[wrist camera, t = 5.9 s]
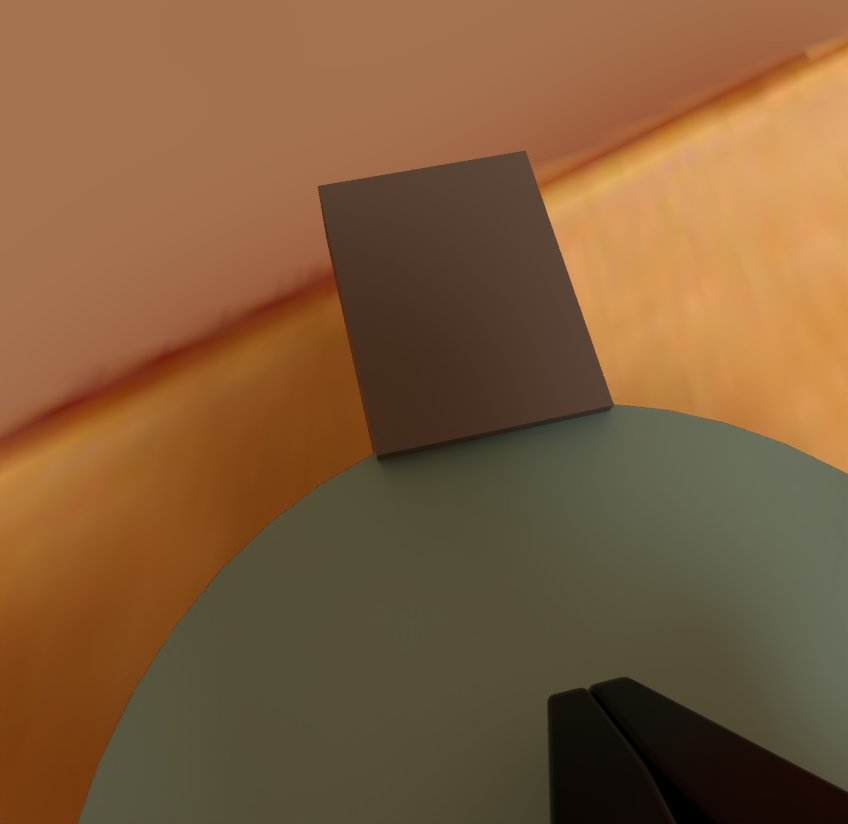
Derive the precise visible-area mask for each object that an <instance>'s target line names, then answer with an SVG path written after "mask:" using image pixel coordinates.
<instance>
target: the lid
mask: <svg viewBox="0 0 848 824" xmlns="http://www.w3.org/2000/svg"><path fill="white" fill-rule="evenodd" d="M318 190H319V196H320V202H321V208H322V215H323V221H324V226H325V232H326V238H327V243H328V247H329V252H330V257H331V261H332V266H333V270H334V275H335V279H336V284H337V289H338V293H339V298H340V302H341V307H342V312H343V316H344V321H345V325H346V330H347V334H348V339H349V344H350V348H351V353H352V357H353V362H354V367H355V371H356V376H357V380H358V385H359V389H360V394H361V399H362V403H363V408H364V412H365V417H366V422H367V426H368V431H369V435H370V440H371V445H372V449H373V454H372V455H371V456H369V457H367V458H366V459H364V460H362V461H360V462H359V463H357V464H355V465H353V466H352V467H350V468H348V469H346V470H345V471H343V472H341V473H339V474H338V475H336V476H334V477H332V478H331V479H329V480H327V481H326V482H324V483H322V484H321V485H319V486H318V487H317V488H315V489H314V490H313V491H311V492H310V493H309V494H307V495H306V496H305V497H303V498H302V499H301V500H299V501H298V502H297V503H295V504H294V505H293V506H291V507H290V508H289V509H287V510H286V511H285V512H283V513H282V514H281V515H279V516H278V517H277V518H275V519H274V520H273V521H272V522H270V523H269V524H268V525H267V526H266V527H265V528H264V529H263V530H262V531H261V532H260V533H259V534H258V535H257V536H256V537H255V538H253V539H252V540H251V541H250V542H249V543H248V544H247V545H246V546H245V547H244V548H243V549H242V550H241V551H240V552H239V553H238V554H237V555H236V556H235V557H234V558H233V559H232V560H231V561H230V562H229V563H228V564H227V565H226V566H224V567H223V568H222V569H221V570H220V572H219V573H218V574H217V575H216V577H215V578H214V579H213V580H212V581H211V583H210V584H209V585H208V586H207V588H206V589H205V590H204V591H203V592H202V594H201V595H200V596H199V597H198V599H197V600H196V601H195V602H194V604H193V605H192V606H191V607H190V608H189V610H188V611H187V612H186V613H185V615H184V616H183V617H182V618H181V619H180V621H179V622H178V623H177V624H176V626H175V627H174V629H173V630H172V632H171V633H170V635H169V637H168V638H167V640H166V641H165V643H164V644H163V646H162V648H161V649H160V651H159V652H158V654H157V655H156V657H155V659H154V660H153V662H152V663H151V665H150V666H149V668H148V670H147V671H146V673H145V674H144V676H143V677H142V679H141V680H140V682H139V684H138V685H137V687H136V688H135V690H134V692H133V694H132V696H131V698H130V700H129V702H128V704H127V706H126V708H125V710H124V713H123V715H122V717H121V719H120V721H119V723H118V725H117V727H116V729H115V731H114V733H113V735H112V737H111V739H110V741H109V743H108V745H107V747H106V749H105V751H104V754H103V756H102V758H101V760H100V762H99V764H98V767H97V770H96V773H95V776H94V778H93V781H92V784H91V787H90V790H89V792H88V795H87V798H86V801H85V804H84V806H83V809H82V812H81V815H80V818H79V820H78V823H77V824H550V806H549V763H548V719H547V700H548V698H549V697H550V695H552V694H556V693H560V692H564V691H568V690H572V689H576V688H585V689H587V690H588V689H589V687H590V686H591V685H593V684H595V683H599V682H603V681H607V680H611V679H615V678H619V677H628V678H631V679H633V680H635V681H637V682H639V683H641V684H643V685H645V686H647V687H649V688H651V689H653V690H654V691H656V692H658V693H660V694H662V695H664V696H666V697H668V698H670V699H672V700H674V701H676V702H677V703H679V704H681V705H683V706H685V707H687V708H689V709H691V710H693V711H695V712H697V713H699V714H701V715H702V716H704V717H706V718H708V719H710V720H712V721H714V722H716V723H718V724H720V725H722V726H724V727H725V728H727V729H729V730H731V731H733V732H735V733H737V734H739V735H741V736H743V737H745V738H747V739H748V740H750V741H752V742H754V743H756V744H758V745H760V746H762V747H764V748H766V749H768V750H770V751H772V752H773V753H775V754H777V755H779V756H781V757H783V758H785V759H787V760H789V761H791V762H793V763H795V764H796V765H798V766H800V767H802V768H804V769H806V770H808V771H810V772H812V773H814V774H816V775H818V776H819V777H821V778H823V779H825V780H827V781H829V782H831V783H833V784H835V785H837V786H839V787H841V788H843V789H844V790H846V791H848V474H846V473H845V472H843V471H841V470H839V469H837V468H835V467H833V466H831V465H829V464H826V463H824V462H822V461H820V460H818V459H816V458H814V457H812V456H810V455H808V454H806V453H804V452H801V451H799V450H797V449H795V448H793V447H791V446H789V445H787V444H785V443H782V442H779V441H776V440H773V439H770V438H767V437H765V436H762V435H759V434H756V433H753V432H750V431H747V430H744V429H742V428H739V427H736V426H733V425H730V424H727V423H724V422H719V421H715V420H710V419H706V418H701V417H697V416H692V415H688V414H683V413H679V412H674V411H670V410H664V409H655V408H645V407H635V406H625V405H616V404H613V402H612V399H611V396H610V393H609V390H608V387H607V384H606V381H605V378H604V376H603V373H602V370H601V367H600V364H599V361H598V358H597V355H596V353H595V350H594V347H593V344H592V341H591V338H590V335H589V332H588V330H587V327H586V324H585V321H584V318H583V315H582V312H581V309H580V306H579V304H578V301H577V298H576V295H575V292H574V289H573V286H572V283H571V281H570V278H569V275H568V272H567V269H566V266H565V263H564V260H563V258H562V255H561V252H560V249H559V246H558V243H557V240H556V237H555V234H554V232H553V229H552V226H551V223H550V220H549V217H548V214H547V211H546V209H545V206H544V203H543V200H542V197H541V194H540V191H539V188H538V185H537V183H536V180H535V177H534V174H533V171H532V168H531V165H530V162H529V160H528V157H527V154H526V151H521V152H515V153H509V154H504V155H498V156H492V157H486V158H480V159H474V160H468V161H463V162H457V163H451V164H445V165H439V166H433V167H428V168H421V169H416V170H410V171H404V172H398V173H392V174H387V175H380V176H375V177H369V178H363V179H357V180H351V181H345V182H339V183H333V184H328V185H322V186H318Z"/></svg>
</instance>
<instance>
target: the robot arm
mask: <svg viewBox="0 0 848 824" xmlns="http://www.w3.org/2000/svg"><path fill="white" fill-rule="evenodd" d="M547 719H548V763H549V806H550V824H848V791H846V790H844V789H843V788H841V787H839V786H837V785H835V784H833V783H831V782H829V781H827V780H825V779H823V778H821V777H819V776H818V775H816V774H814V773H812V772H810V771H808V770H806V769H804V768H802V767H800V766H798V765H796V764H795V763H793V762H791V761H789V760H787V759H785V758H783V757H781V756H779V755H777V754H775V753H773V752H772V751H770V750H768V749H766V748H764V747H762V746H760V745H758V744H756V743H754V742H752V741H750V740H748V739H747V738H745V737H743V736H741V735H739V734H737V733H735V732H733V731H731V730H729V729H727V728H725V727H724V726H722V725H720V724H718V723H716V722H714V721H712V720H710V719H708V718H706V717H704V716H702V715H701V714H699V713H697V712H695V711H693V710H691V709H689V708H687V707H685V706H683V705H681V704H679V703H677V702H676V701H674V700H672V699H670V698H668V697H666V696H664V695H662V694H660V693H658V692H656V691H654V690H653V689H651V688H649V687H647V686H645V685H643V684H641V683H639V682H637V681H635V680H633V679H631V678H628V677H619V678H615V679H611V680H607V681H603V682H599V683H595V684H593V685H591V686H590V687H589V689H588V690H587V689H585V688H576V689H572V690H568V691H564V692H560V693H556V694H552V695H550V697H549V698H548V700H547Z"/></svg>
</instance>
